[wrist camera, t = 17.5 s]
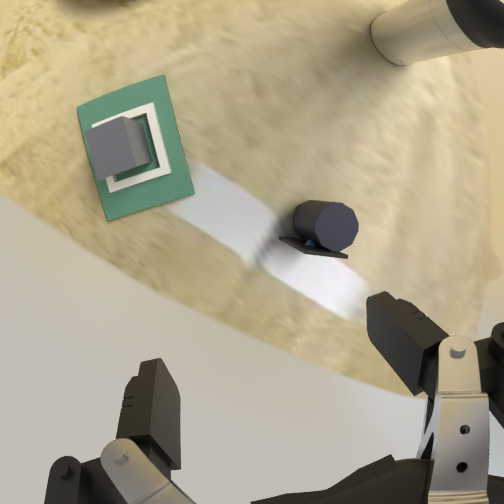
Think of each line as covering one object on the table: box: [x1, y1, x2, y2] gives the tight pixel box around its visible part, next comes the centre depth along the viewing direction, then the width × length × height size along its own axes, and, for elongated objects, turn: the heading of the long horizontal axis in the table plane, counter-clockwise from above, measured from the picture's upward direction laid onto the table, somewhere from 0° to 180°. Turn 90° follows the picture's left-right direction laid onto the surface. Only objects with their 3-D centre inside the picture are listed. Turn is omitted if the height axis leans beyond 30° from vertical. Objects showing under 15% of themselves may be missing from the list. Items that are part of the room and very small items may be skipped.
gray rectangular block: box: [84, 116, 153, 181], centre depth 28 cm, size 5×4×10 cm
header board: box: [77, 75, 195, 221], centre depth 33 cm, size 16×12×3 cm
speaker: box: [279, 200, 359, 259], centre depth 37 cm, size 8×6×10 cm
